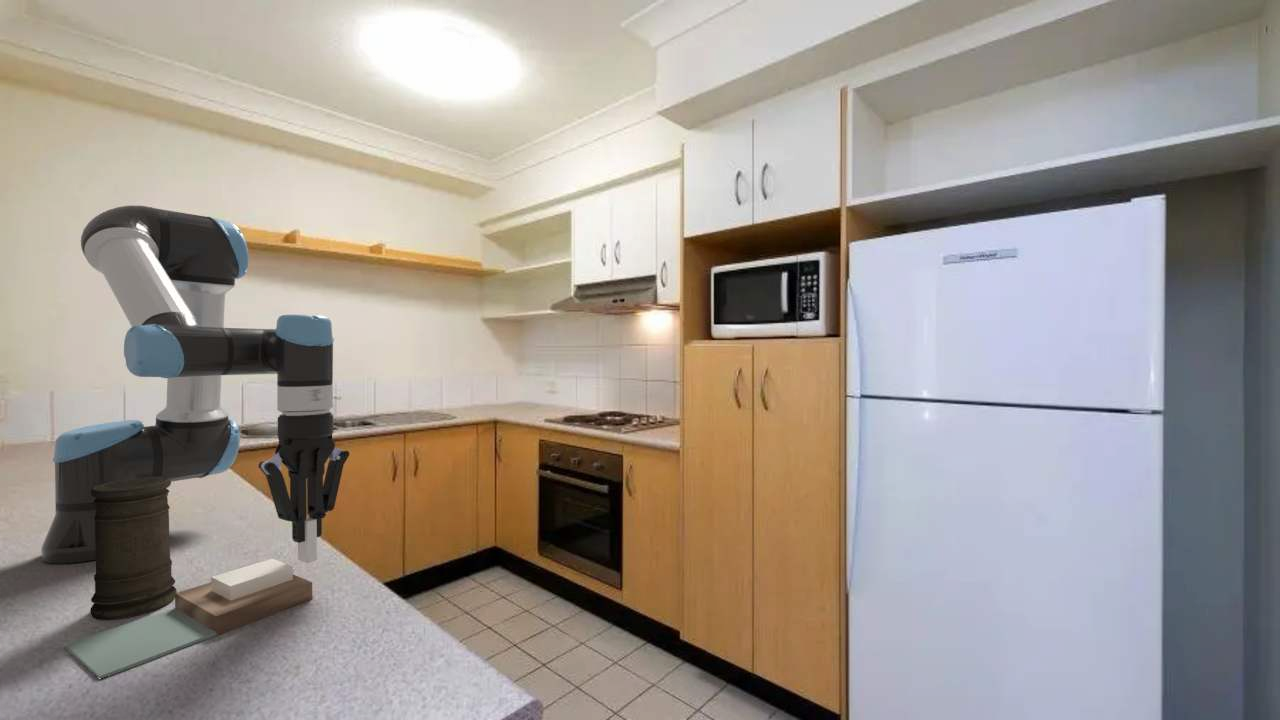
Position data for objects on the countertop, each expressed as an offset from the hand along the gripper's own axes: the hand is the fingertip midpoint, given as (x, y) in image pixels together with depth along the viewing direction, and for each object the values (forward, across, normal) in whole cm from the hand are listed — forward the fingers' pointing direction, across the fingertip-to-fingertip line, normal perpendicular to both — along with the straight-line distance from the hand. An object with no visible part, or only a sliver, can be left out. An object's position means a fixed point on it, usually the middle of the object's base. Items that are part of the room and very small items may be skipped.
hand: (307, 559), depth 86 cm
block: (+1, -8, 0) cm, 8 cm away
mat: (+4, -20, 0) cm, 21 cm away
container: (+4, -17, +14) cm, 22 cm away
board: (+4, -9, 0) cm, 9 cm away
